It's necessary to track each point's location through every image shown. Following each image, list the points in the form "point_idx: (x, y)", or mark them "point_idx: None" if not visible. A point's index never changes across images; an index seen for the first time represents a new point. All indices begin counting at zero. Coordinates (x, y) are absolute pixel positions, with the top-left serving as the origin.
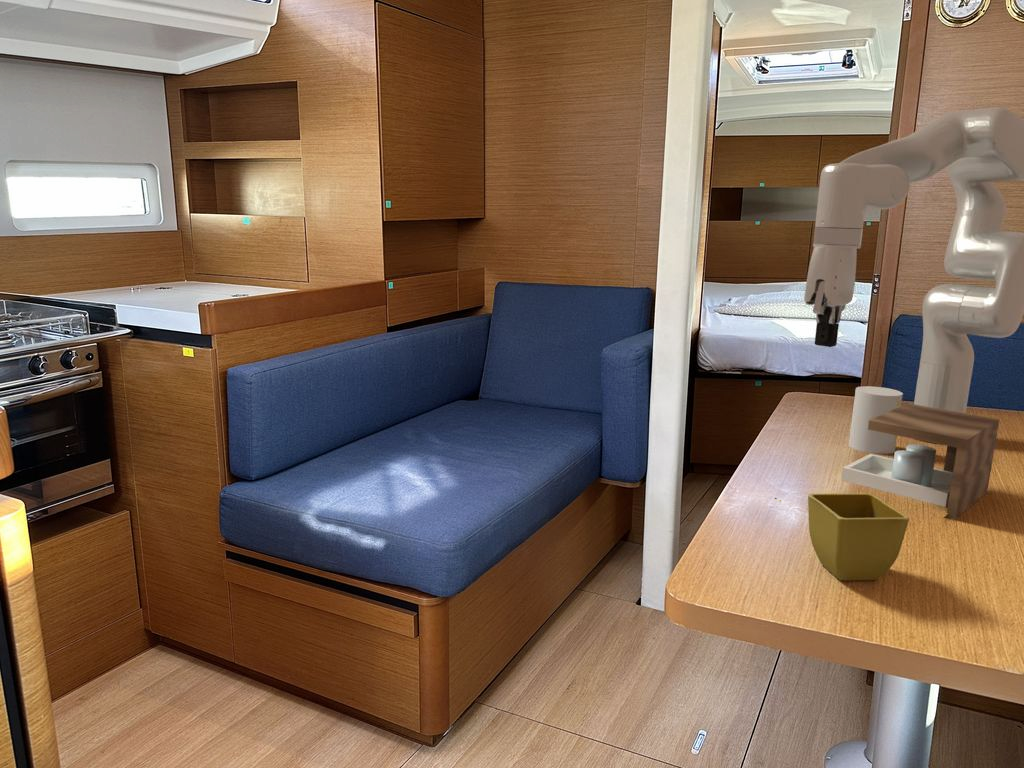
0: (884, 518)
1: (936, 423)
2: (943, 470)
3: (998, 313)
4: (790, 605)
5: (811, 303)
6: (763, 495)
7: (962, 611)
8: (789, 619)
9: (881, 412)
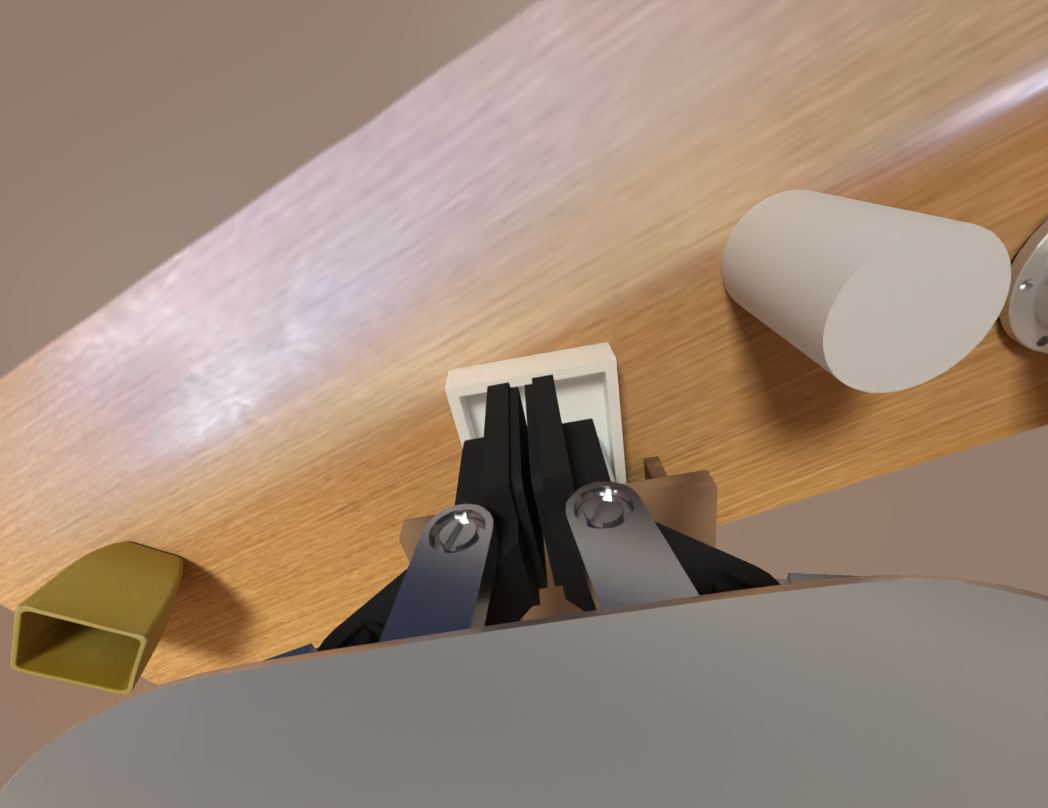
0: (86, 685)
1: (536, 608)
2: None
3: None
4: (9, 577)
5: (355, 647)
6: (219, 328)
7: (218, 644)
8: None
9: (795, 342)
